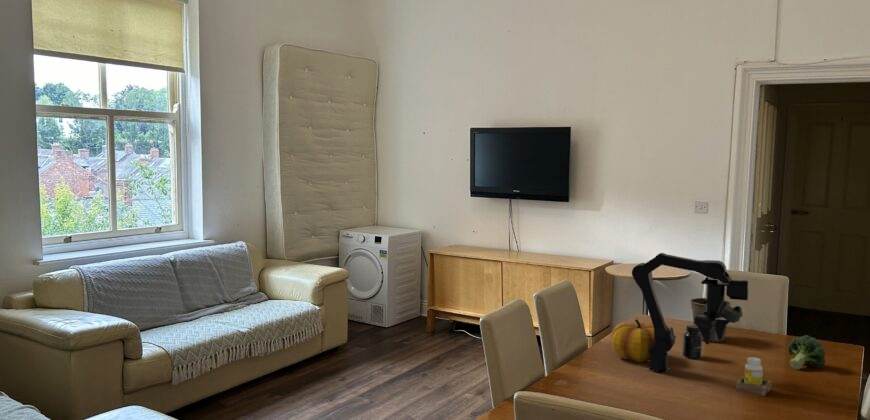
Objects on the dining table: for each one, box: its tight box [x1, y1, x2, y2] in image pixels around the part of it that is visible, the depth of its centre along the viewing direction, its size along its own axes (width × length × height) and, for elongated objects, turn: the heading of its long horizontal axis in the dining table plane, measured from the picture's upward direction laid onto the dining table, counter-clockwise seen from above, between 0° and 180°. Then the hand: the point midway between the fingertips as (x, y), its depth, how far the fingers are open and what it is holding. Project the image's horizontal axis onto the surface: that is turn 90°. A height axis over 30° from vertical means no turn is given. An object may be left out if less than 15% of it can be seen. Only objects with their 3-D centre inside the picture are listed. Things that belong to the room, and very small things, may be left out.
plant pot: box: [689, 297, 732, 343], centre depth 282 cm, size 16×16×16 cm
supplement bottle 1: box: [682, 324, 703, 360], centre depth 256 cm, size 7×7×12 cm
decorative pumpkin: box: [611, 318, 655, 363], centre depth 254 cm, size 20×22×15 cm
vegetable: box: [787, 334, 826, 371], centre depth 245 cm, size 12×13×15 cm
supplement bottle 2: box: [744, 356, 764, 387], centre depth 219 cm, size 5×5×10 cm
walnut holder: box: [735, 375, 772, 397], centre depth 220 cm, size 9×9×3 cm
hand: (713, 341), depth 230 cm, fingers open, 9 cm apart
